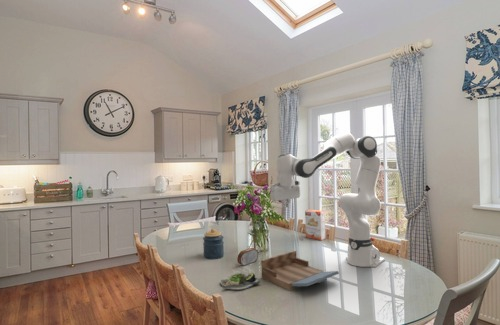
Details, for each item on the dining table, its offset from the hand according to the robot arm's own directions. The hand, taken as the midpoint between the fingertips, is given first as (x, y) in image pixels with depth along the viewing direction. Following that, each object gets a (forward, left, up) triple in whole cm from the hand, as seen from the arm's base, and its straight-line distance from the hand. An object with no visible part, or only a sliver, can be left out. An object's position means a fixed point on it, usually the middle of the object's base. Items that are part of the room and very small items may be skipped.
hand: (285, 207), depth 175 cm
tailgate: (+10, +24, -30) cm, 40 cm away
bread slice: (+14, -18, -33) cm, 40 cm away
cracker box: (-57, -29, -33) cm, 72 cm away
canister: (+22, -44, -33) cm, 59 cm away
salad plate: (+34, +2, -34) cm, 48 cm away
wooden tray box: (+10, +14, -33) cm, 37 cm away
